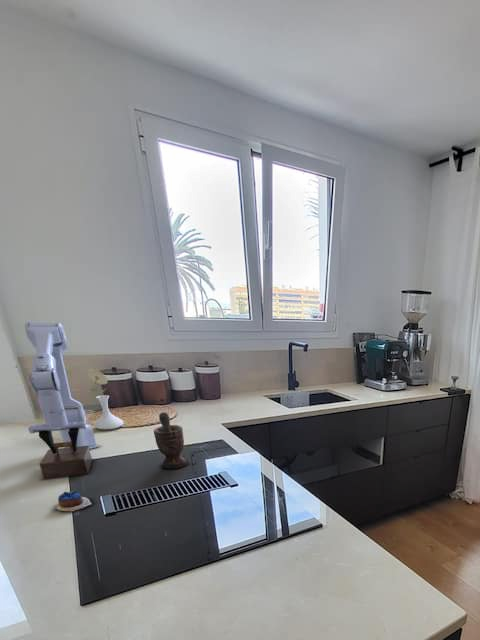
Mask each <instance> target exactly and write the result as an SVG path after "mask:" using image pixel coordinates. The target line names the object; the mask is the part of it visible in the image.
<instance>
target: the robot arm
mask: <svg viewBox="0 0 480 640" xmlns="http://www.w3.org/2000/svg"><path fill="white" fill-rule="evenodd" d="M24 330H25V334H26V336H27V339H28V340H29V341H30V343H31V344H32V346H33V347H34V348H35V350H36V353H35V354H33V356H32V372H31V373H29V374H28V380H29V384H30V386H31V388H32V390H33V393H34V395H35V398H37V400H38V404H39V407H40V410H41V414H42V418H43V421H44V423H42V424H35V425H29V426H28V427H27V428H28V432H29V434H35V433H38V437H39V439H41V440H42V441H43V442H44V444H46V445H47V447H49V450H50V449H51V451H52V453H53V454H56V450H55V448H54V447H53V443H55V442H54V437H53V433H52V432H57V431H58V432H60V436H61V439H62V442H72V447H73V451H74V452H77V447H80V446H89V450H92V449H95V448H98V447H99V445H97V441H96V438H95V434H94V430H93V428H92V427H91V425H90V424H89V423H87V417H86V416H87V415H86V412H85V409H84V406H83V404H82V403H81V402H80V401H78V400H76V399H74V398H72V394H71V389H70V385H69V381H68V375H67V371H66V367H65V362H64V358H63V357H64V356H63V355H64V354H63V353H64V352H63V351H65V350H67V349H68V340H67V336H66V332H65V328H64V326H63V324H62V323H61V322H60V321H59V322H30V321H26V322H25V324H24ZM64 448H70V447H64Z"/></svg>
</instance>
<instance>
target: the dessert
mask: <svg viewBox="0 0 480 640" xmlns="http://www.w3.org/2000/svg"><path fill="white" fill-rule="evenodd" d="M57 502H58V504H57V506H56V510H58V511H62V512H75V511H78V510H81V509H84V508H86V507H88V506H90V505H92V502H91V501H90V499H89V498H88V497H87V496H86V497H85V496H82V495H81V494H80V492H78V491H77V490H75V491H63V493H61V494H60V495H59V496H58V498H57Z"/></svg>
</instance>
